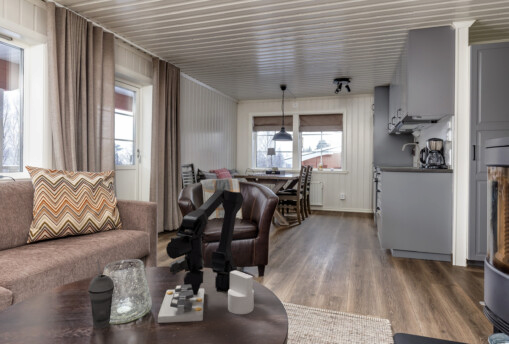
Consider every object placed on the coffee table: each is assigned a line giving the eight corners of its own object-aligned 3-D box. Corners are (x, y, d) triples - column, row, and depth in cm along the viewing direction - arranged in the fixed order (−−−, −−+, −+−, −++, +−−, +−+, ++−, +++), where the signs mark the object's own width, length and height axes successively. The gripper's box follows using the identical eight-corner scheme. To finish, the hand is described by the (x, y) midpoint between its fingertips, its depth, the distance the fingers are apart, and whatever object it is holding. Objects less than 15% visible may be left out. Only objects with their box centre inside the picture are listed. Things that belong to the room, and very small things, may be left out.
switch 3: (191, 305, 107) (192, 302, 107) (191, 310, 103) (192, 307, 103) (171, 300, 106) (172, 297, 106) (169, 306, 102) (170, 303, 102)
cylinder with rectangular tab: (222, 308, 111) (222, 274, 111) (240, 300, 118) (241, 268, 117) (240, 316, 105) (241, 281, 105) (258, 308, 112) (259, 274, 111)
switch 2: (193, 292, 114) (193, 289, 114) (193, 297, 110) (192, 294, 110) (174, 296, 113) (173, 293, 113) (172, 301, 109) (172, 298, 109)
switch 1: (195, 285, 121) (194, 282, 121) (194, 289, 117) (194, 286, 117) (176, 288, 120) (176, 285, 120) (175, 292, 116) (174, 289, 116)
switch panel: (204, 293, 123) (204, 281, 123) (202, 320, 102) (202, 305, 102) (167, 294, 121) (167, 282, 121) (157, 322, 100) (157, 307, 100)
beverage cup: (104, 332, 94) (104, 266, 94) (82, 329, 96) (82, 264, 95) (119, 320, 102) (119, 258, 101) (99, 318, 103) (99, 257, 102)
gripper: (173, 245, 120) (175, 286, 120) (166, 260, 101) (168, 308, 102) (203, 243, 121) (204, 283, 122) (202, 258, 103) (203, 305, 103)
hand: (195, 294), depth 112 cm, fingers closed, pressing on switch 2
